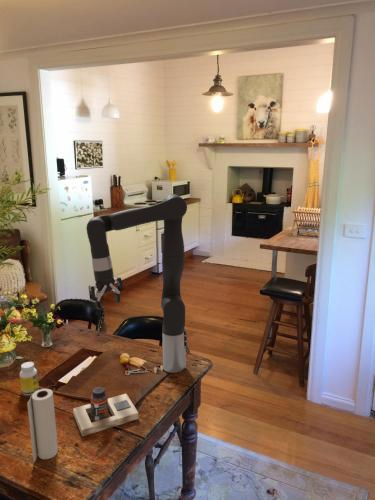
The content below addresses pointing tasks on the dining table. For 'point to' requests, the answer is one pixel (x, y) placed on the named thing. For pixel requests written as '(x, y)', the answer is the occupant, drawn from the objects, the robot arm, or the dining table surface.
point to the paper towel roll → (42, 424)
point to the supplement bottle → (99, 404)
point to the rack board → (120, 413)
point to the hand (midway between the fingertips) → (108, 305)
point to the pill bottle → (28, 378)
